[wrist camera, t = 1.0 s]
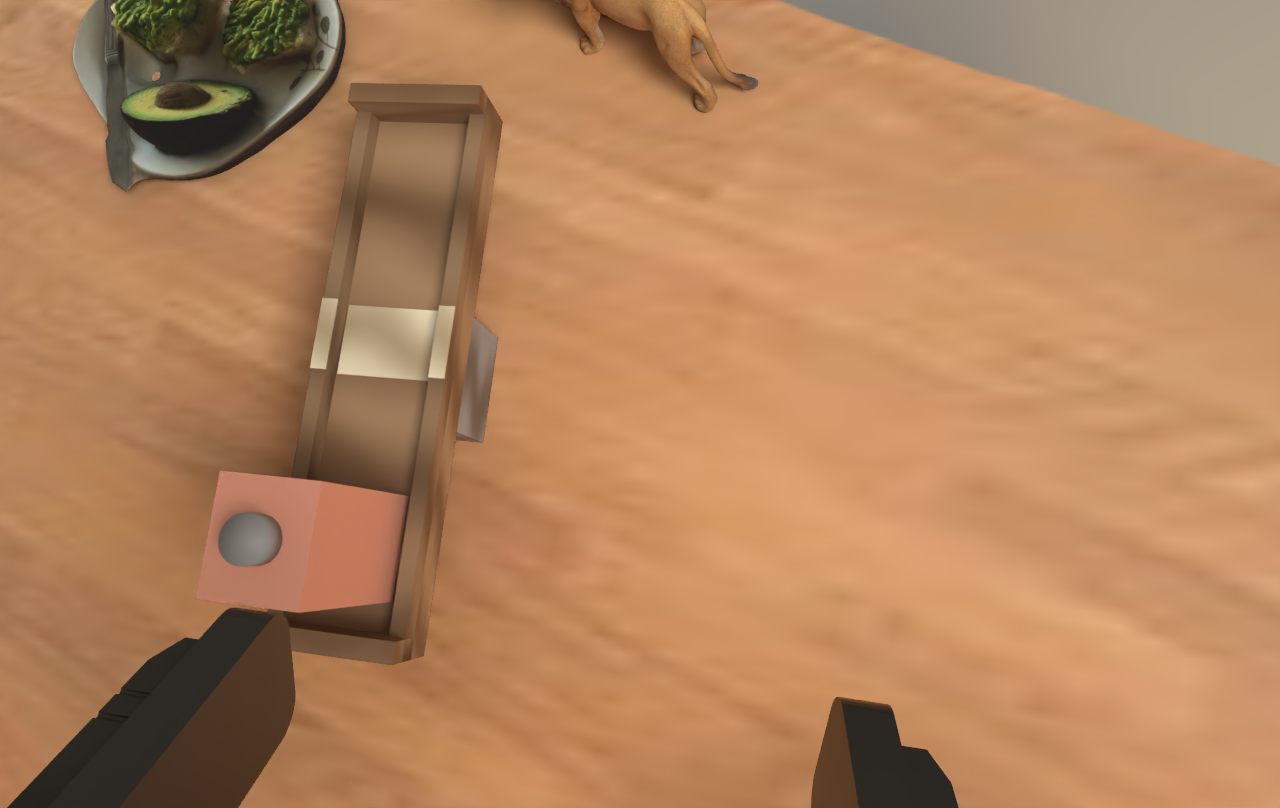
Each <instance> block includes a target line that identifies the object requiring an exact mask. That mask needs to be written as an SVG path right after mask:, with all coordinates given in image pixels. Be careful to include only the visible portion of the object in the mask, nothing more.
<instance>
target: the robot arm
mask: <svg viewBox="0 0 1280 808" xmlns="http://www.w3.org/2000/svg"><path fill="white" fill-rule="evenodd" d="M294 705H295V684H294V673H293V663H292V652H291V641H290V631H289V623H288V620H287V618H286V617H285V616H284V615H281V614H274V613H268V612H261V611H254V610H248V609H241V608H230V609H228V610H226V611H225V612H224V613H223V614H222V615H221V616H220V617H219V618H218V619H217V620H216V621H215V622H214V623H213V624H212V626H211V627H210V628H209V629H208V630H207V631H206V632H205V633H204V634H203V636H202V637H201V638H200V639H199V640H197V639H191V638H184V639H182V640H181V641H179V642H177V643H176V644H174V645H172V646H171V647H169V648H167V649H166V650H164V651H162V652H161V653H159V654H157V655H156V656H154V657H152V658H151V659H149V660H148V661H147V662H146V663H145V664H144V665H143V666H142V667H141V668H140V669H139V670H138V671H137V672H136V673H135V674H134V675H133V676H132V677H131V678H130V680H129V681H128V682H127V683H126V684H125V685H124V686H123V687H122V688H121V692H120V694H115V695H114V696H113V697H112V698H111V699H110V700H109V702H108V703H107V704H106V705H105V706H104V707H103V708H102V709H101V710H100V711H99V714H98V717H97V718H92V719H91V720H90V721H89V723H88V724H87V725H86V726H85V727H84V728H83V729H82V730H81V731H80V732H79V733H78V734H77V735H76V736H75V737H74V738H73V739H72V740H71V741H70V742H69V743H68V745H67V746H66V747H65V748H64V749H63V750H62V751H61V752H60V753H59V754H58V755H57V756H56V757H55V758H54V759H53V760H52V761H51V762H50V763H49V764H48V766H47V767H46V768H45V769H44V770H43V771H42V772H41V773H40V774H39V775H38V776H37V777H36V778H35V779H34V780H33V781H32V782H31V783H30V784H29V785H28V786H27V788H26V789H25V790H24V791H23V792H22V793H21V794H20V795H19V796H18V797H17V798H16V799H15V800H14V801H13V802H12V803H11V804H10V805H9V806H8V807H7V808H238V807H239V806H240V804H241V802H242V801H243V799H244V798H245V796H246V795H247V793H248V792H249V790H250V789H251V787H252V786H253V784H254V782H255V781H256V779H257V778H258V776H259V775H260V773H261V772H262V770H263V769H264V767H265V766H266V764H267V762H268V761H269V759H270V758H271V756H272V755H273V753H274V752H275V750H276V749H277V747H278V746H279V744H280V742H281V741H282V739H283V738H284V736H285V734H286V732H287V729H288V727H289V724H290V721H291V718H292V715H293V711H294ZM811 808H958V804H957V801H956V797H955V794H954V791H953V787H952V784H951V782H950V781H949V779H948V778H947V777H946V775H945V774H944V772H943V771H942V770H941V768H940V767H939V766H938V764H937V763H936V762H935V760H934V759H933V757H932V756H931V755H930V753H929V752H928V751H927V750H925V749H919V748H912V747H906V746H901V742H900V737H899V733H898V729H897V725H896V721H895V717H894V713H893V710H892V708H891V706H890V705H888V704H881V703H875V702H868V701H862V700H855V699H848V698H842V697H836V698H835V700H834V701H833V704H832V707H831V711H830V715H829V719H828V723H827V727H826V731H825V735H824V739H823V743H822V746H821V750H820V754H819V758H818V762H817V766H816V770H815V774H814V780H813V788H812V802H811Z"/></svg>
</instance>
